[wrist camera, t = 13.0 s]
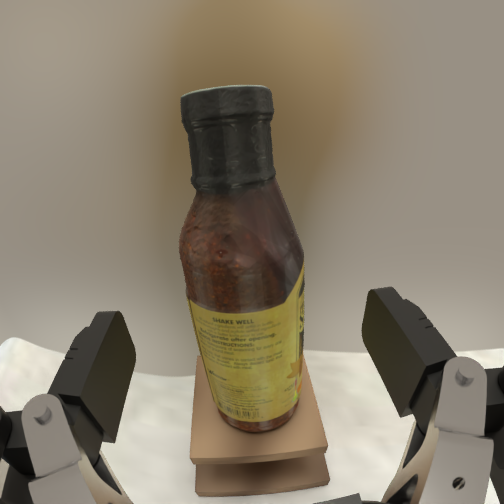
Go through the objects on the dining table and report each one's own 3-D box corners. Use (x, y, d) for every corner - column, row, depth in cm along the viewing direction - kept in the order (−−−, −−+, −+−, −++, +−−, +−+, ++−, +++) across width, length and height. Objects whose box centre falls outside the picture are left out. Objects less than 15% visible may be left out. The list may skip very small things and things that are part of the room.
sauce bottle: (316, 412, 19) (338, 83, 10) (235, 449, 16) (174, 82, 8) (272, 358, 24) (261, 92, 15) (201, 384, 22) (148, 102, 13)
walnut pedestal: (198, 496, 19) (174, 463, 15) (202, 403, 29) (186, 352, 25) (327, 484, 19) (344, 448, 16) (305, 394, 29) (311, 341, 26)
